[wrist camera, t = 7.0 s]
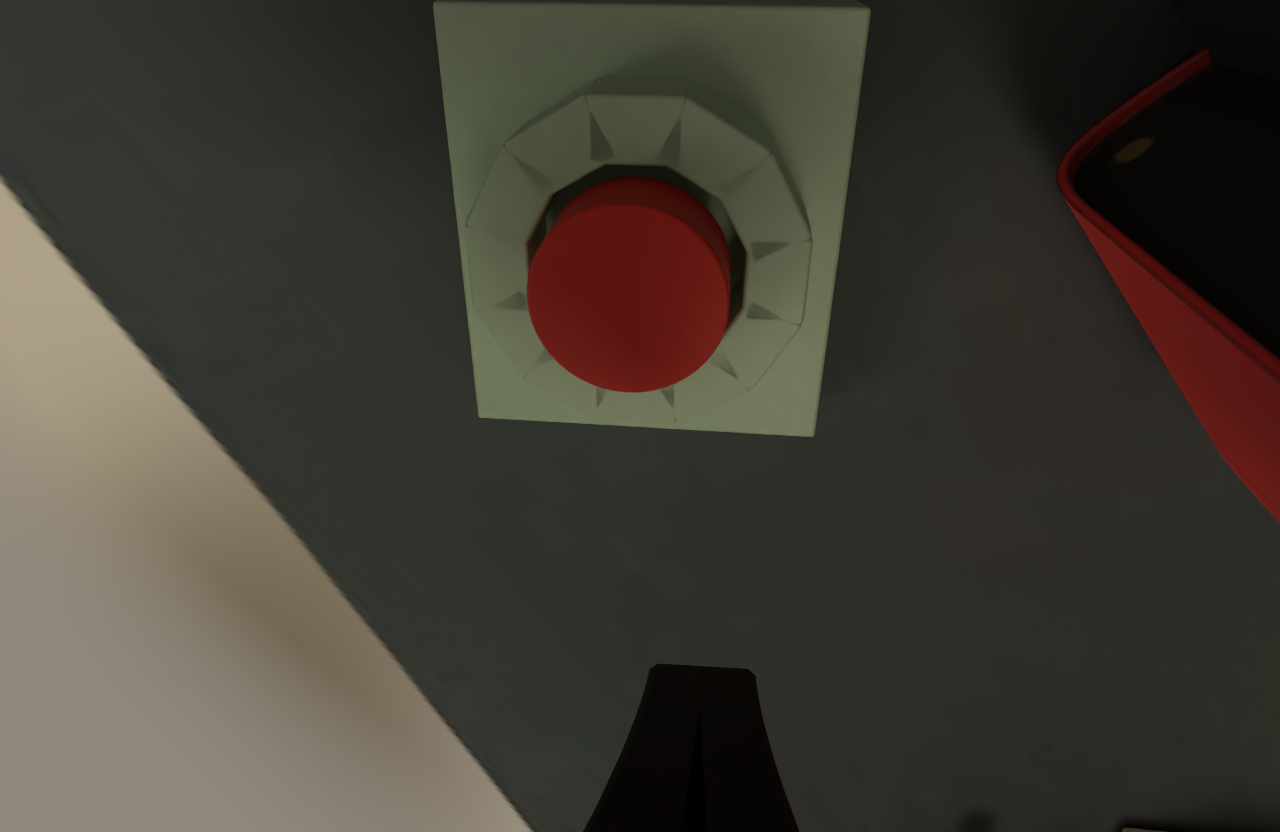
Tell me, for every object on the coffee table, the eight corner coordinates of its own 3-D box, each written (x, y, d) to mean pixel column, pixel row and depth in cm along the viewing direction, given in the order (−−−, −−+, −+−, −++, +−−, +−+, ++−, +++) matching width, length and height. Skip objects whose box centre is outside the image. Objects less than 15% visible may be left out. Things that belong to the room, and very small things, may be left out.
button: (736, 178, 15) (736, 207, 13) (724, 357, 17) (723, 399, 15) (540, 172, 15) (518, 199, 14) (550, 348, 17) (532, 388, 16)
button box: (860, -1, 16) (888, 16, 13) (809, 402, 21) (821, 483, 18) (457, -7, 17) (395, 8, 14) (495, 384, 21) (455, 460, 18)
